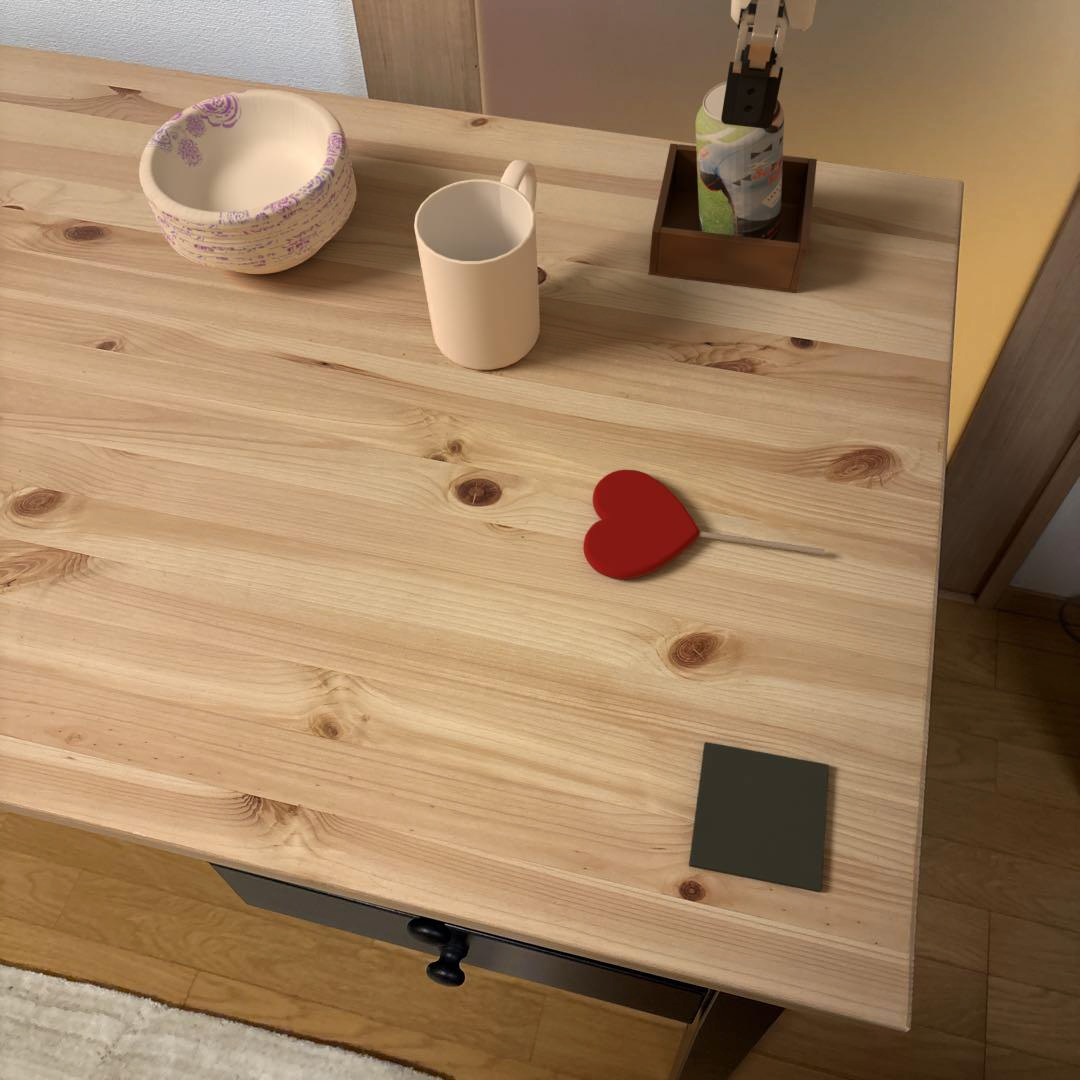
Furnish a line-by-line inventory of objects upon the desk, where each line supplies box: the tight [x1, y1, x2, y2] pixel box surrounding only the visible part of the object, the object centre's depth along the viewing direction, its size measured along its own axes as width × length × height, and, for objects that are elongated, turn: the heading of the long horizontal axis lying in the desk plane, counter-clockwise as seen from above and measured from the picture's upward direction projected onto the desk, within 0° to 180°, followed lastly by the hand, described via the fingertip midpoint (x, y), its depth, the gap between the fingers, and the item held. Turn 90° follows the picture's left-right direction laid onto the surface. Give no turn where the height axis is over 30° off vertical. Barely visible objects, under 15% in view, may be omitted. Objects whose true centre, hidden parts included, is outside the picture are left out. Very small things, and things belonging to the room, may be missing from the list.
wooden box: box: [648, 142, 818, 294], centre depth 76 cm, size 11×10×4 cm
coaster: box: [688, 741, 830, 893], centre depth 55 cm, size 7×7×1 cm
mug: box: [413, 159, 541, 371], centre depth 70 cm, size 12×8×10 cm, turn 156°
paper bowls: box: [138, 88, 357, 275], centre depth 77 cm, size 15×15×8 cm
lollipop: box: [582, 469, 825, 580], centre depth 64 cm, size 8×1×15 cm
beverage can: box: [694, 81, 785, 240], centre depth 73 cm, size 6×7×12 cm
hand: (753, 75), depth 66 cm, fingers open, 9 cm apart
